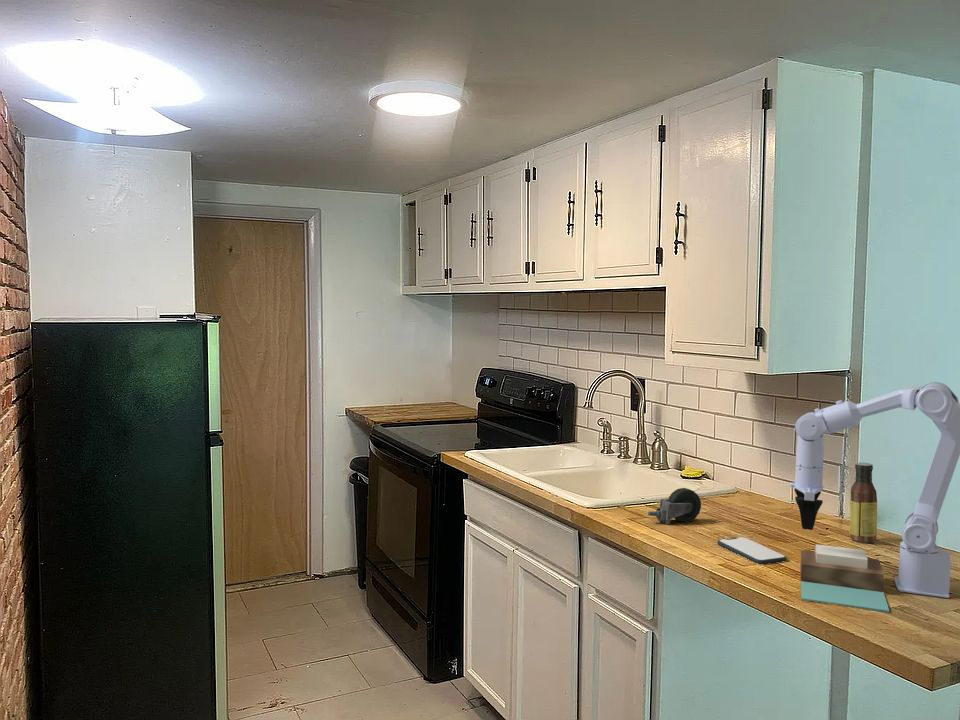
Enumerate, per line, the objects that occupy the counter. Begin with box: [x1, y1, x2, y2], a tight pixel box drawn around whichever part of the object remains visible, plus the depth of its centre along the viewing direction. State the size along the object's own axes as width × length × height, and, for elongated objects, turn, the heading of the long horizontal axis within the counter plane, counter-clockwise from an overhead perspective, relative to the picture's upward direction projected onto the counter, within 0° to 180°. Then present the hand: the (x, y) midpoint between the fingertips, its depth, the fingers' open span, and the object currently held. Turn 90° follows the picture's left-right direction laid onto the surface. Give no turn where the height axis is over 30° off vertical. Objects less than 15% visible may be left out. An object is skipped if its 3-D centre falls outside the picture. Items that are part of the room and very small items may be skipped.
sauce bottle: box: [849, 462, 878, 544], centre depth 200 cm, size 7×6×20 cm
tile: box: [814, 543, 868, 569], centre depth 173 cm, size 10×7×2 cm
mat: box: [800, 580, 890, 613], centre depth 162 cm, size 16×10×1 cm, turn 68°
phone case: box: [717, 536, 788, 565], centre depth 190 cm, size 9×2×16 cm
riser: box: [799, 549, 885, 592], centre depth 172 cm, size 16×10×4 cm, turn 69°
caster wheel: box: [647, 487, 702, 525], centre depth 215 cm, size 6×10×15 cm
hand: (806, 524), depth 179 cm, fingers open, 7 cm apart
